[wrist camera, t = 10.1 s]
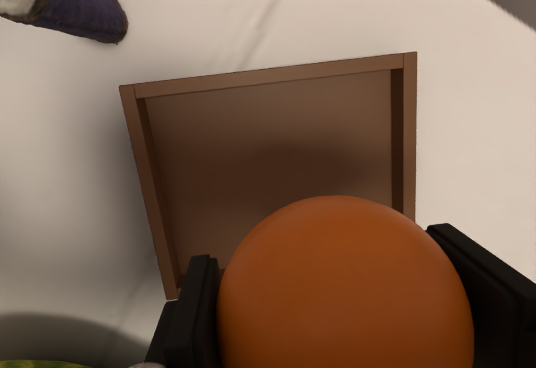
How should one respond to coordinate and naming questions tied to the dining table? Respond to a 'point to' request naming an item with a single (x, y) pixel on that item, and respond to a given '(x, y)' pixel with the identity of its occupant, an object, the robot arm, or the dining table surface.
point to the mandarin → (342, 292)
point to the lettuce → (39, 364)
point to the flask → (70, 17)
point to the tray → (268, 149)
